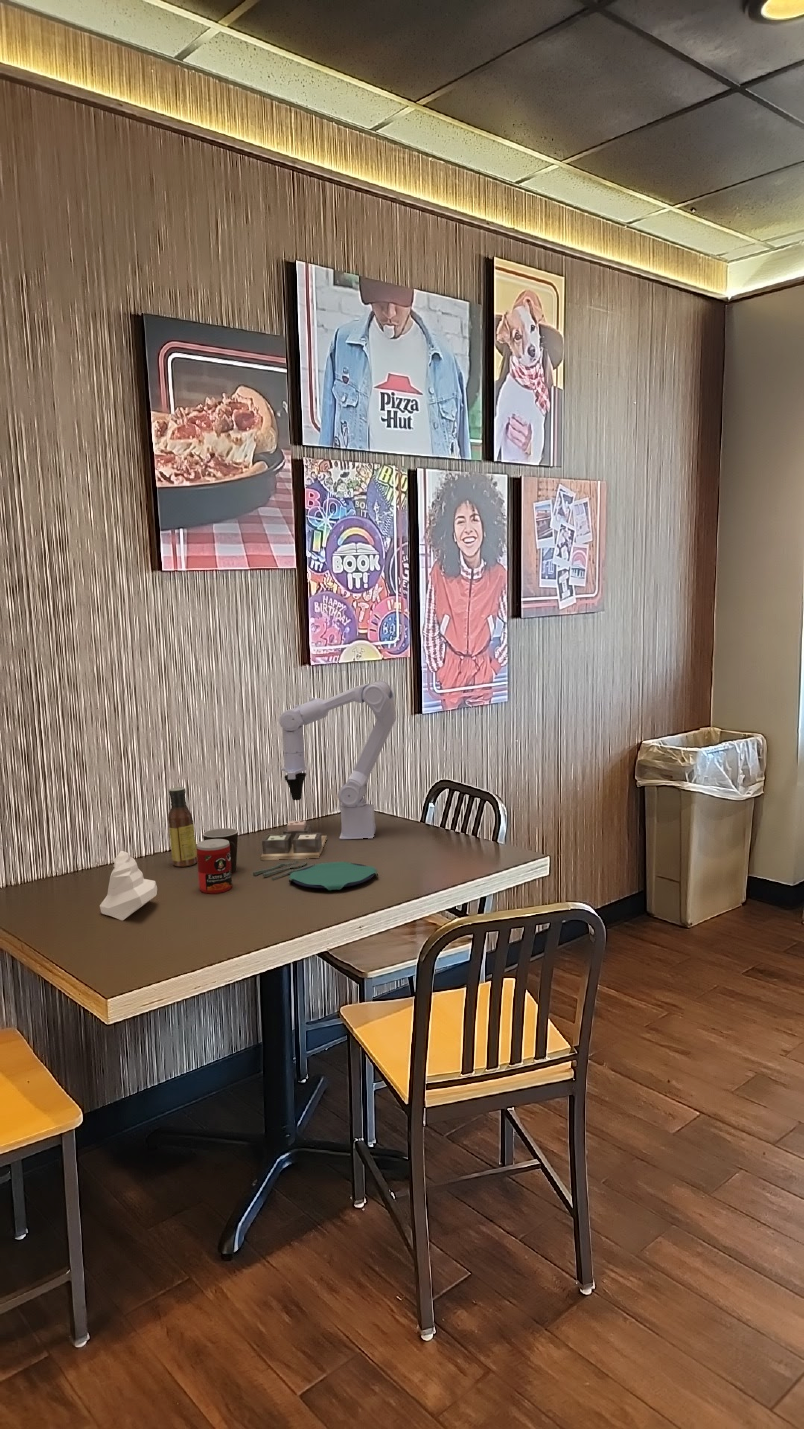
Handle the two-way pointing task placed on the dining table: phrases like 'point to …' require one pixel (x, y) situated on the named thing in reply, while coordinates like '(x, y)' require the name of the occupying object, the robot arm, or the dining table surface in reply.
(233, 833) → the coffee mug
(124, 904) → the soft serve ice cream
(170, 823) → the sauce bottle
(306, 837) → the tile one
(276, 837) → the tile two
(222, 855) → the canned food
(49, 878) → the dining table surface
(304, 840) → the console
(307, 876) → the cutlery set
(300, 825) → the tile three
